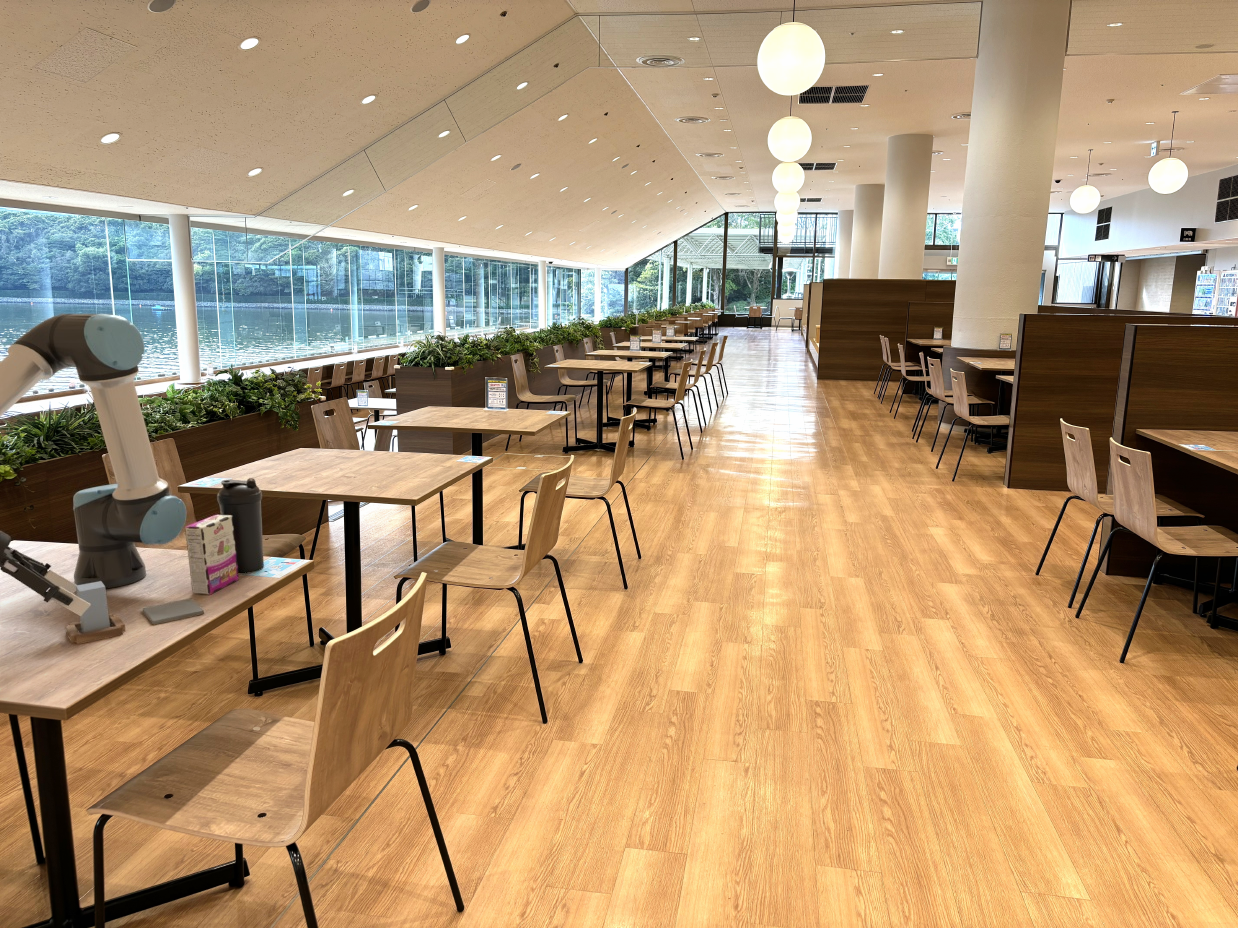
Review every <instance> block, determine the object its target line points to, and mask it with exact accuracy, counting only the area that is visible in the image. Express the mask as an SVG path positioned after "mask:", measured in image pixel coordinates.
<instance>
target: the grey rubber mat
mask: <svg viewBox="0 0 1238 928" xmlns="http://www.w3.org/2000/svg"><path fill="white" fill-rule="evenodd" d="M141 610H142V613H143V614H144V615H145V616H146V617H147V619H148V620H149V621H150V623H151V624H152V625H159V624H163V623H168V622H173V621H176V620H177V621H178V620H181V619H186V618H190V617H196V616H200V615H204V614H205V611H204V609H203V608H202V607H201V606H200V605H199V604H198V603H197V602H196V601H195V600H194V599H193V598H192V597H191V598H190V597H189V598H185V599H180V600H176V601H175V600H174V601H170V602H166V603H161V604H155V605H150V606H146V607H142V608H141Z"/></svg>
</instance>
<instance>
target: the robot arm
mask: <svg viewBox="0 0 1238 928" xmlns="http://www.w3.org/2000/svg"><path fill="white" fill-rule="evenodd" d="M7 352H8V355H7V356H6V357H5V358H3V359H2V360H1V361H0V418H1V417H2V416H3V415H4V414H6V413H7V411H9V410H10V409H11V408H12V407H13V406H14V405H15V404H16V403H17V402H19V400H20V399H22V398H23V397H24V396H25V395H26V394H27V393H28V392H29V391H30V390H31V389H32V388H33V387H34V386H35V385H37V384H38V383H39V382H40V381H42V380H46V381H47V380H49V379H51V378H52V377H53V376H54V375H55V374H56V373H57V372H60V371H62V370H64V369H67V368H68V369H69V368H75V370H76V372H77V376H78V379H79V381H80V382H81V383H83V384H85V385H86V386H88V387H89V389H90V392H91V396H92V399H93V403H94V406H95V407H94V408H95V410H96V414H97V417H98V421H99V424H100V428H101V432H102V434H103V438H104V442H105V445H106V449H107V452H108V456H109V460H110V464H111V468H112V470H113V474H114V477H115V481H116V483H113V484H106V485H100V486H95V487H90V488H85V489H82V490H79V491H77V492H75V494H74V495H73V500H72V501H73V503H72V504H73V507H72V510H73V515H74V523H75V529H76V537H77V543H78V550H79V551H78V557H77V560H76V561H77V562H76V565H75V570H74V573H73V581H74V582H73V581H71V580H69V579H67V578H66V577H64V576H62V575H61V574H59V573H57V572H55V571H53V570H52V569H51V567H52V565H51V564H50V563H48V562H47V563H45V564H44V563H43V562H40V561H38V560H36V559H34V558H33V557H31V556H28V555H26V554H24V553H21V552H20V551H19V550H17V549H14V548H12V547H10V546H9V545H10V543H11V541H12V537H11V536H10V535H9V534H8V533H5V531H3V530H0V571H1V572H3V573H5V574H7V575H8V576H10V577H13V578H14V579H15V580H17V581H18V582H20V583H21V584H23V585H24V586H26V587H28V588H29V589H31V590H32V591H33V592H35V593H37V594H38V595H39V596H41V597H43V598H44V599H43V601H44V602H46V603H49V602H50V601H53V602H55V603H57V604H58V605H59V606H61V607H63V608H65V609H67V610H69V611H70V612H72V613H74V614H76V615H78V616H79V617H80V616H81V615H82V614H83V613H84V612H85V611H86V610H87V609H88V608H89V606H90V605H91V604H90V603H88V602H86V601H84V600H83V599H81V598H79V597H77V594H75V592H76V586H77V585H82V584H88V583H93V582H99V581H101V582H102V583H103V584H104V586H105V589H110V588H111V589H112V588H116V587H122V586H126V585H129V584H133V583H136V582H138V581H140V580H143V578H145V577H146V576H147V568H146V564H145V562H144V561H143V558H142V557H141V555H140V552H139V550H138V549H137V547H136V545H135V544H145V545H149V546H154V545H157V546H159V545H166V544H169V543H171V542H173V541H174V540H176V538H178V536H179V535H180V534H181V532H182V530H183V527H185V524H186V520H187V508H186V504H185V503H184V501H183V500H182V499H180V498H179V497H177V496H176V495H172V494H171V491H170V487H169V483H168V481H166V480H165V479H163V478H161V477H159V473H158V469H157V466H156V461H155V457H154V454H153V450H152V446H151V442H150V439H149V434H148V430H147V425H146V423H145V419H144V416H143V411H142V408H141V404H140V401H139V396H138V392H137V389H136V385H135V381H134V379H135V378H136V376H137V375H138V373H140V372H139V364H140V363H141V361H142V360H143V355H144V353H145V342H144V338H143V335H142V334H141V332H140V330H139V329H138V328H137V326H136V325H135V324H134V323H133V322H131V321H130V320H128V319H127V318H125V317H123V316H121V315H114V314H110V313H109V314H108V313H77V314H76V313H61V314H58V315H55V316H52V317H50V318H47V319H45V320H43V321H41V322H40V323H39V324H37V325H35V326H34V327H32V328H31V329H30V330H28V331H26V332H25V333H24V334H23V335H22V336H20V337H19V338H18V339H16V341H14V343H13V344H11V345H10V346H9V347H8V349H7Z"/></svg>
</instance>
